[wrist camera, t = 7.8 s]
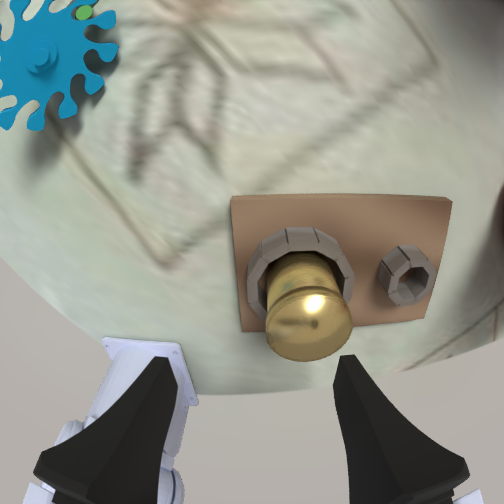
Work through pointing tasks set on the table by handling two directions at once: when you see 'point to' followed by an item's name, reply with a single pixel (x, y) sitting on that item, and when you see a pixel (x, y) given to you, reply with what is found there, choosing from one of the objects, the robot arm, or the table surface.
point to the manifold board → (344, 249)
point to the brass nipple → (305, 308)
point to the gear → (50, 57)
